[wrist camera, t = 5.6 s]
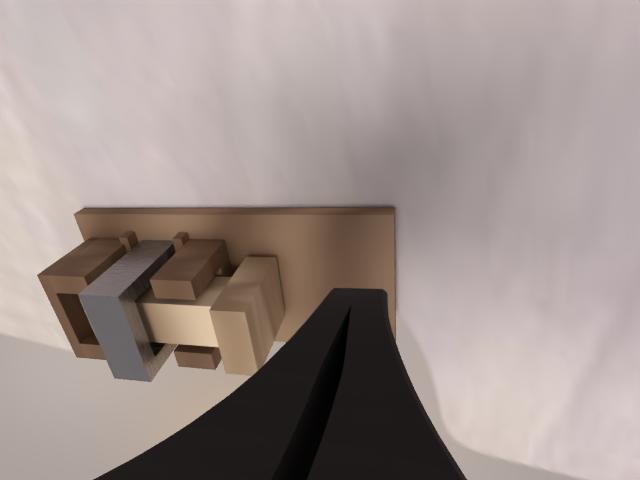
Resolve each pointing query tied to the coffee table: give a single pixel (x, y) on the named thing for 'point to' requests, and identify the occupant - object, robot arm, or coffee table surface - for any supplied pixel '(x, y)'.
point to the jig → (228, 260)
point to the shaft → (223, 315)
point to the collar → (127, 312)
